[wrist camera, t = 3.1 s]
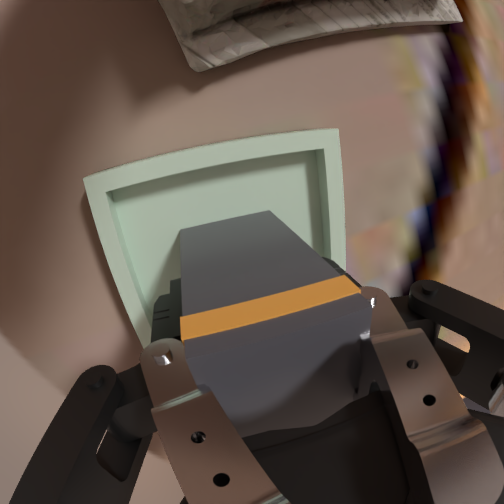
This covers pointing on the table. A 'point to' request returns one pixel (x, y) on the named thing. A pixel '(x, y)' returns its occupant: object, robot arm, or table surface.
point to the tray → (213, 205)
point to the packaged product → (286, 23)
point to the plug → (269, 323)
